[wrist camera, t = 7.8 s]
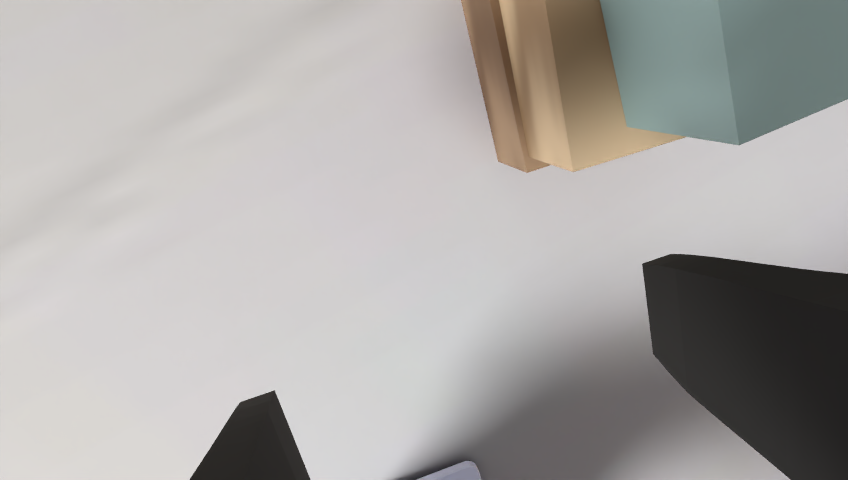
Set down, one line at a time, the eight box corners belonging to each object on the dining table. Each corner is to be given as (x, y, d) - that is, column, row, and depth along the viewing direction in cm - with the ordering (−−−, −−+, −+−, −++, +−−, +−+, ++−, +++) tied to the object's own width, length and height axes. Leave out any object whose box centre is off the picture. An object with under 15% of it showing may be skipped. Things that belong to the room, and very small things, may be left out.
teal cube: (754, 74, 16) (902, 75, 12) (627, 127, 15) (738, 145, 11) (734, -83, 14) (894, -138, 11) (593, -30, 14) (707, -68, 10)
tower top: (695, 106, 19) (766, 111, 16) (528, 156, 18) (573, 172, 15) (677, -94, 17) (755, -128, 14) (489, -48, 16) (532, -75, 13)
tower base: (662, 104, 22) (718, 108, 19) (494, 160, 21) (526, 172, 18) (637, -96, 20) (695, -125, 17) (446, -45, 19) (475, -66, 16)
